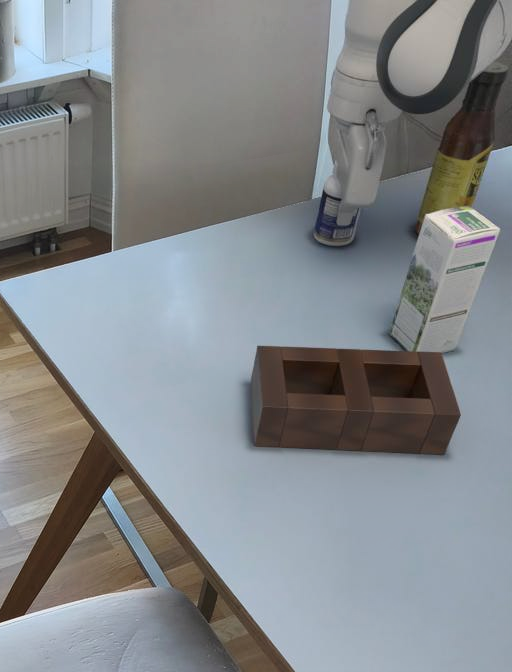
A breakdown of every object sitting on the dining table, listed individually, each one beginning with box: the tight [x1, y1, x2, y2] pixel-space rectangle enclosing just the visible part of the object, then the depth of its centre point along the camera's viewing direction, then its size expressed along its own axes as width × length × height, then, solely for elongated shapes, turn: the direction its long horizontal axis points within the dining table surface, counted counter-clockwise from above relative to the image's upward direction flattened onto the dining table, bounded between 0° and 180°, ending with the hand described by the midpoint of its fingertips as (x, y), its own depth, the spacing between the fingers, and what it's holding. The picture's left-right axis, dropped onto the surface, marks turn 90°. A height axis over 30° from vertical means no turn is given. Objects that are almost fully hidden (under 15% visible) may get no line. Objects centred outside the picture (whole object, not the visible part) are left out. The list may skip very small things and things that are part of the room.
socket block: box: [249, 345, 462, 456], centre depth 93 cm, size 19×11×5 cm, turn 84°
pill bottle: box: [313, 161, 363, 247], centre depth 116 cm, size 5×5×10 cm
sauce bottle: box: [414, 61, 509, 236], centre depth 112 cm, size 6×6×20 cm
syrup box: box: [388, 206, 501, 354], centre depth 98 cm, size 6×6×14 cm
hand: (339, 210), depth 117 cm, fingers closed on pill bottle, 5 cm apart
